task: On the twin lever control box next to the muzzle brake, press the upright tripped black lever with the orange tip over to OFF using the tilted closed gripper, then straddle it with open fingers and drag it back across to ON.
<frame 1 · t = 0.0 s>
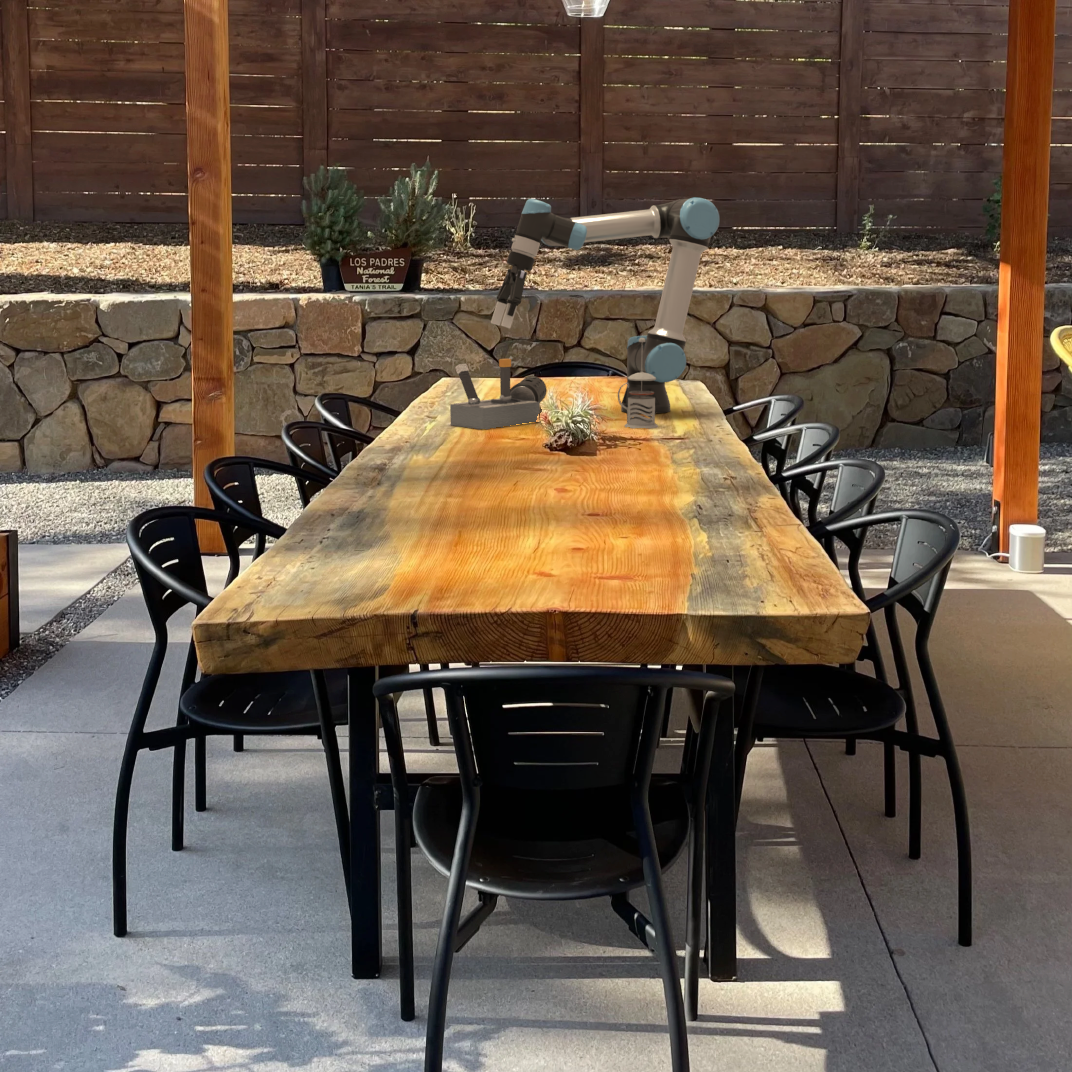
hand: (500, 325, 390), 28 cm above the table, tool tilted 20°, fingers open, 13 cm apart
twin lever control box: (495, 423, 393), on the table
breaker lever: (505, 380, 393), point 12 cm above the table, hinge at 0.0°
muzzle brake: (527, 413, 419), on the table
french press: (638, 427, 387), on the table
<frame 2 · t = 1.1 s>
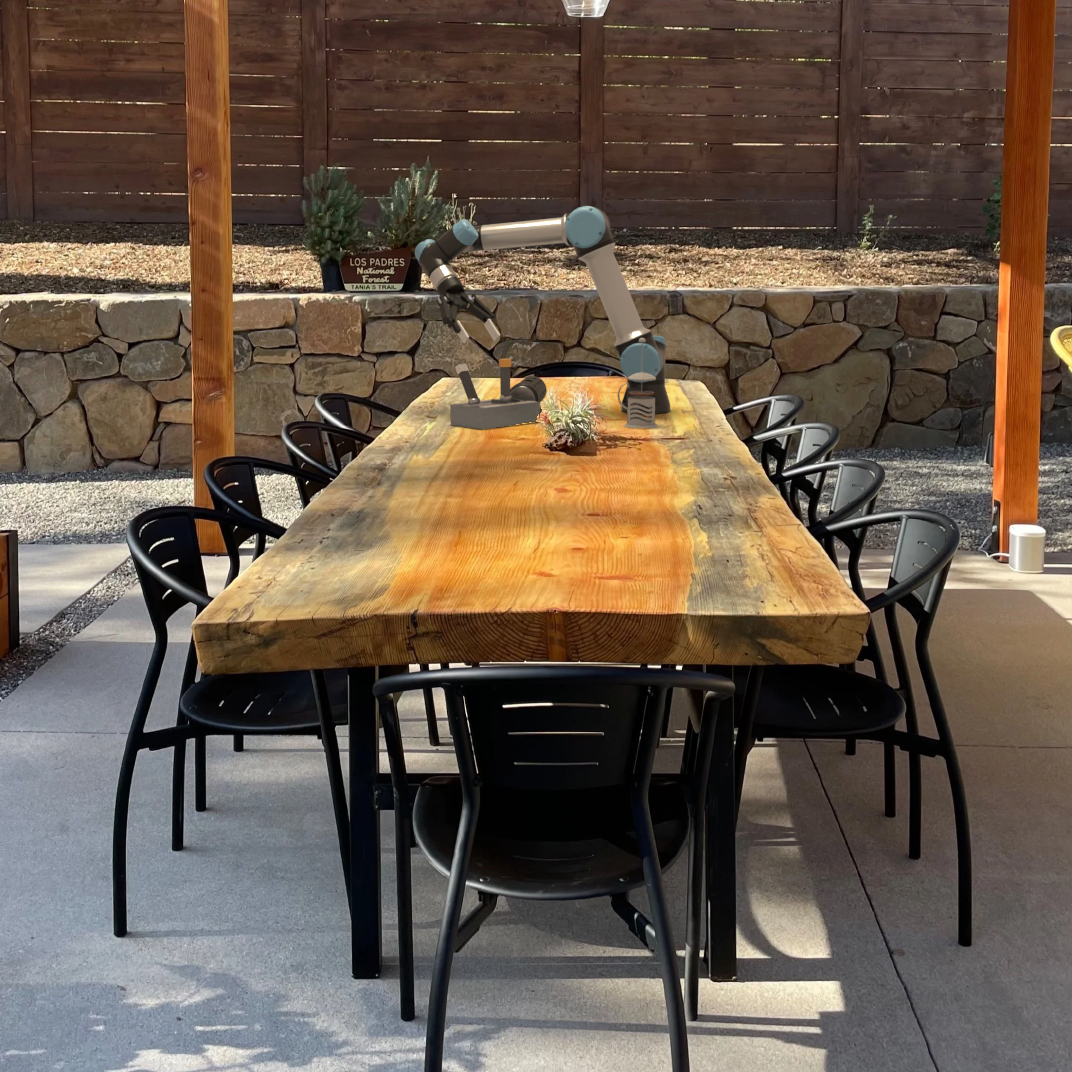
hand: (482, 339, 398), 24 cm above the table, tool tilted 45°, fingers open, 11 cm apart
nothing on the table moved.
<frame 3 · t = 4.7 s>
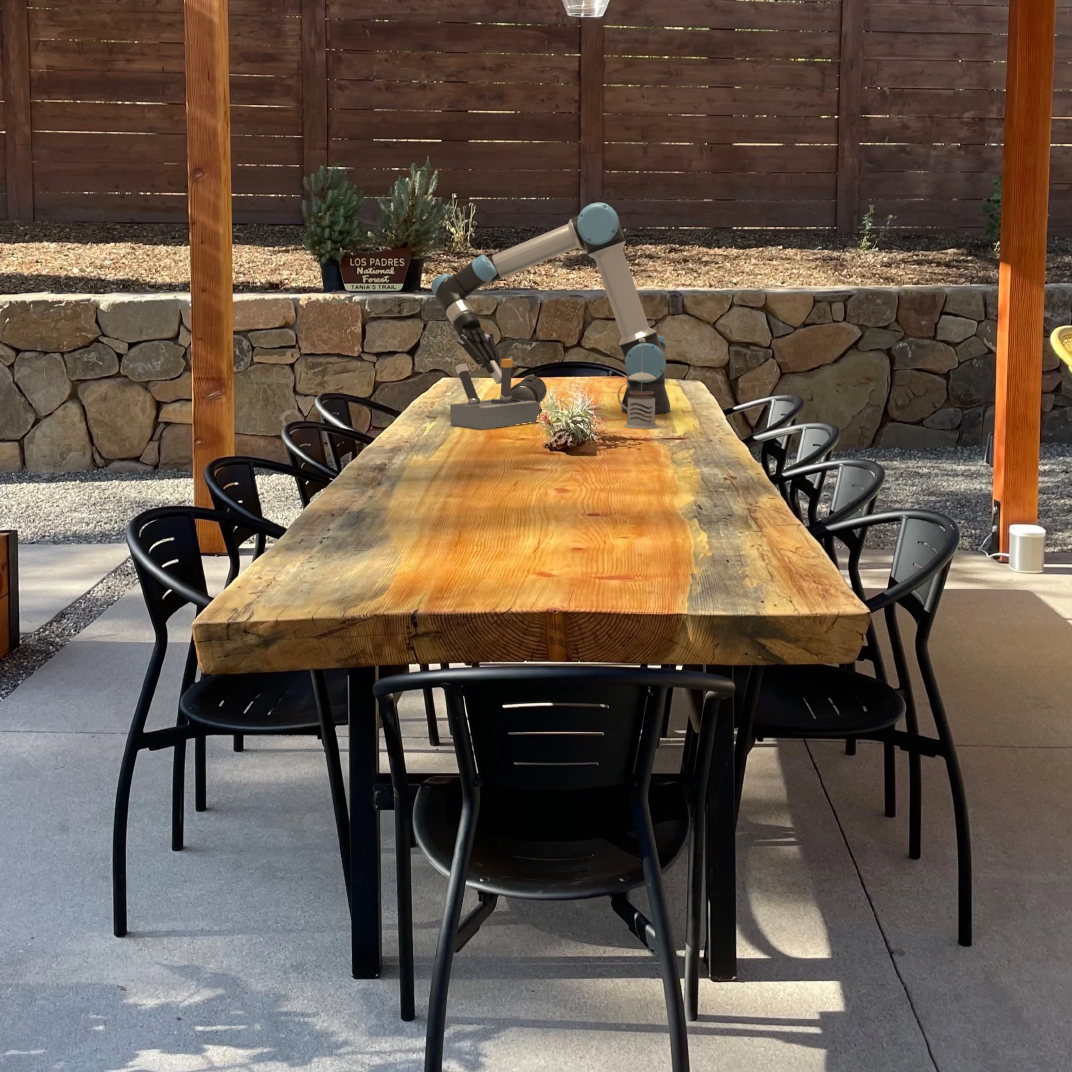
hand: (500, 380, 394), 12 cm above the table, tool tilted 45°, fingers closed
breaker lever: (506, 380, 393), point 12 cm above the table, hinge at 4.6°, touching gripper
everything else where it was.
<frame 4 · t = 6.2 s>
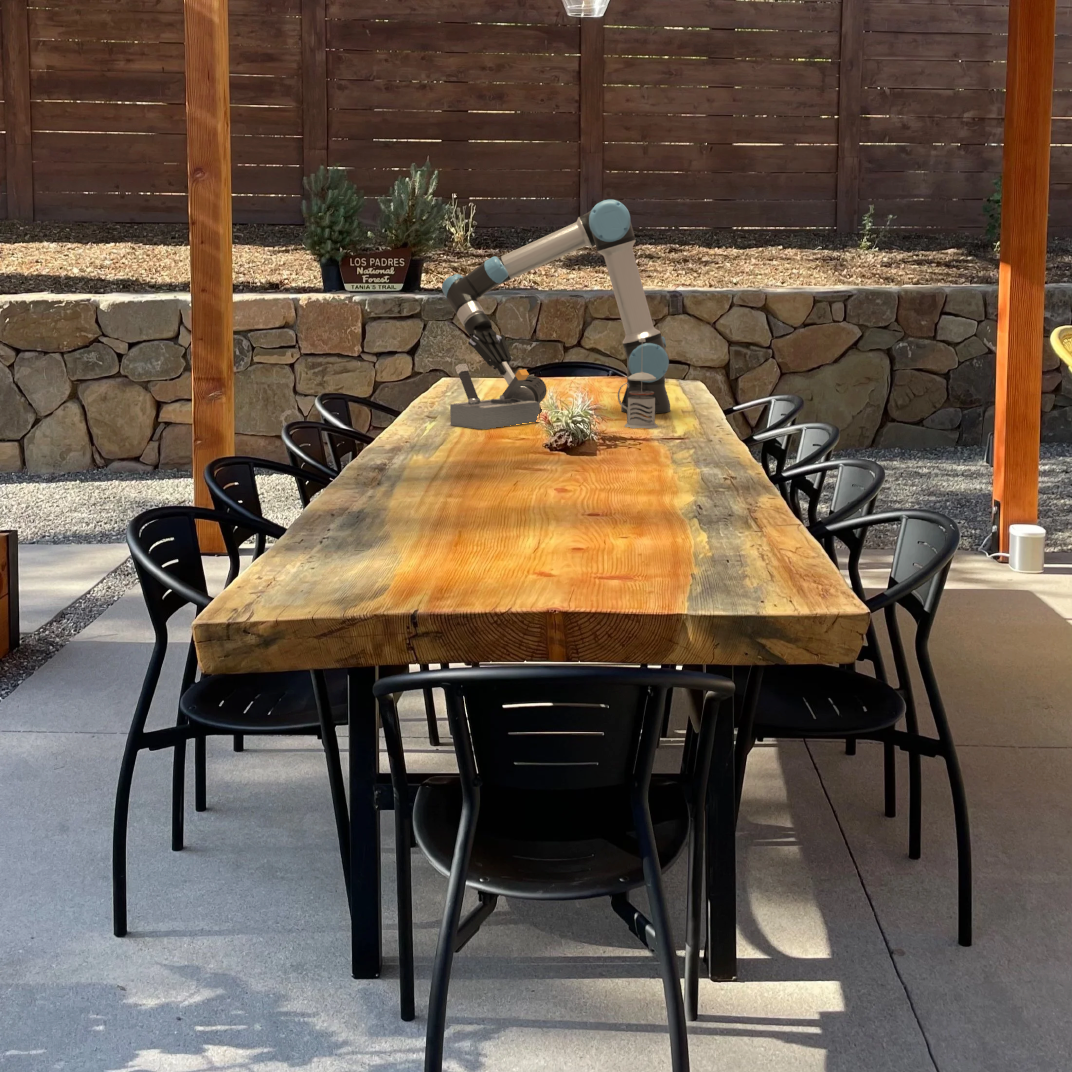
hand: (512, 382, 391), 12 cm above the table, tool tilted 45°, fingers closed
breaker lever: (513, 386, 391), point 11 cm above the table, hinge at 45.0°, touching gripper
everything else where it was.
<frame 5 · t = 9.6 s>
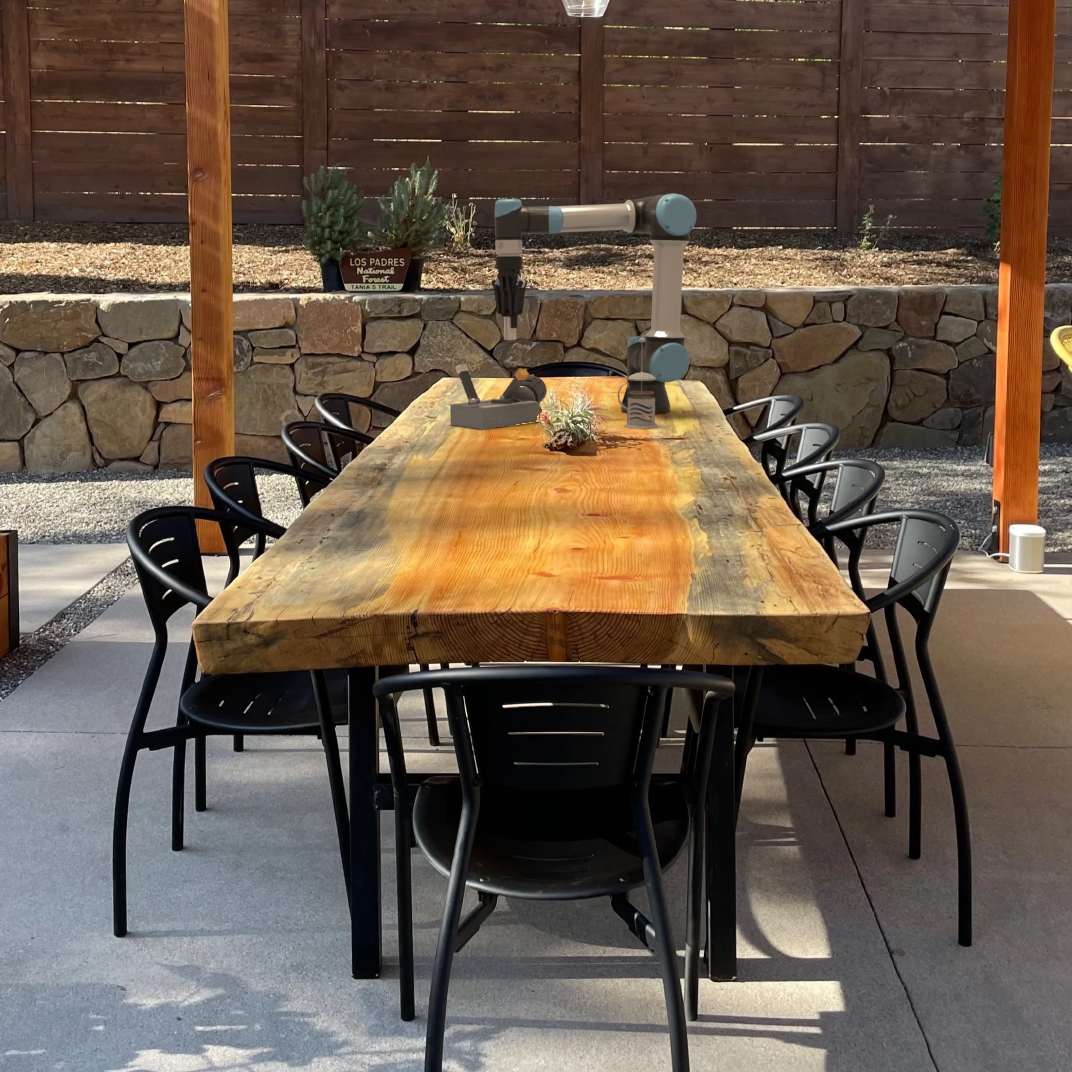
hand: (510, 339, 389), 24 cm above the table, tool pointing down, fingers closed
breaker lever: (513, 386, 391), point 11 cm above the table, hinge at 45.1°
everything else where it was.
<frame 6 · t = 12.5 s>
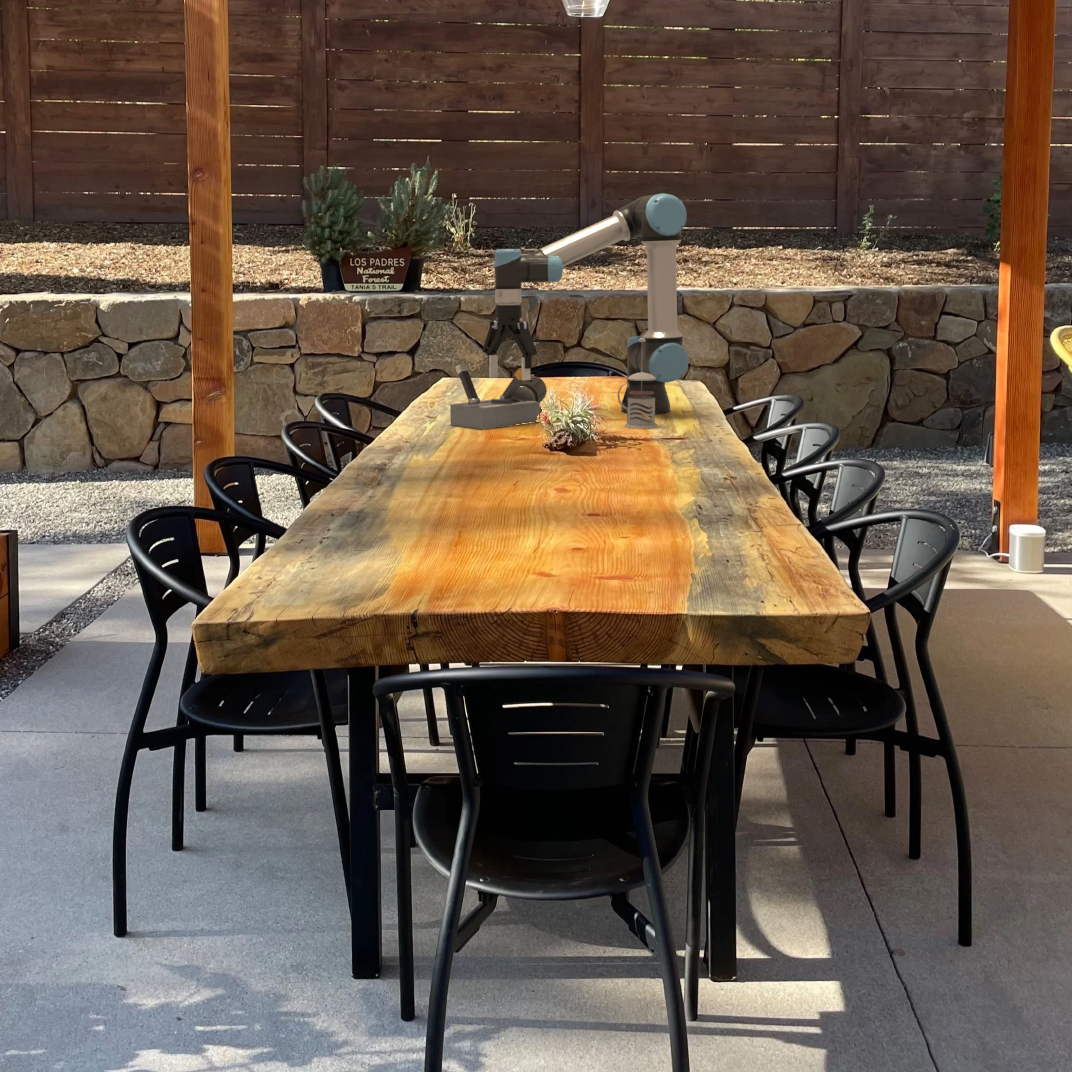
hand: (509, 379, 392), 13 cm above the table, tool pointing down, fingers open, 13 cm apart
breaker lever: (513, 385, 391), point 11 cm above the table, hinge at 44.0°, touching gripper
everything else where it was.
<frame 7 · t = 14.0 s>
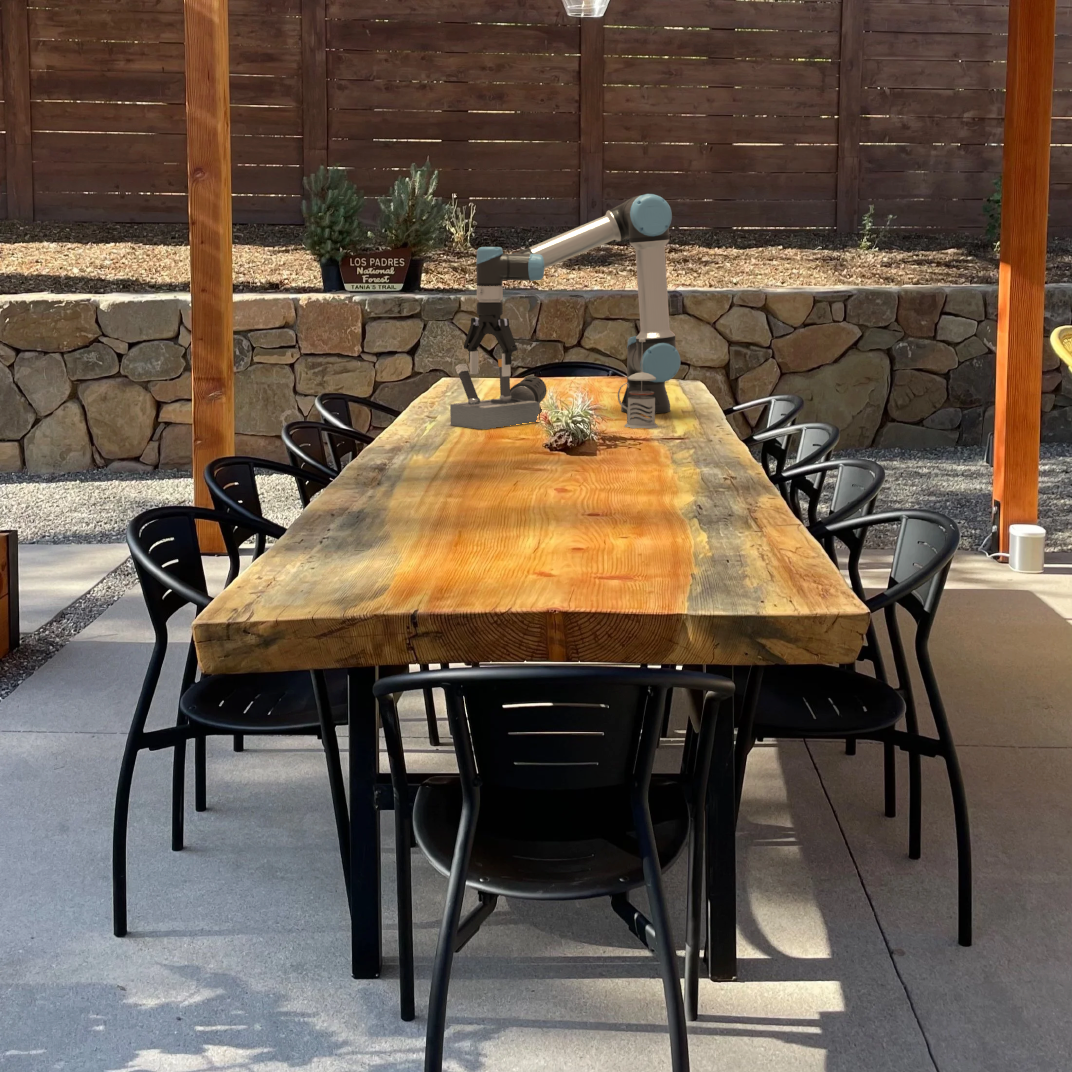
hand: (490, 375, 397), 13 cm above the table, tool pointing down, fingers open, 13 cm apart
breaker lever: (504, 380, 393), point 12 cm above the table, hinge at -2.4°, touching gripper
everything else where it was.
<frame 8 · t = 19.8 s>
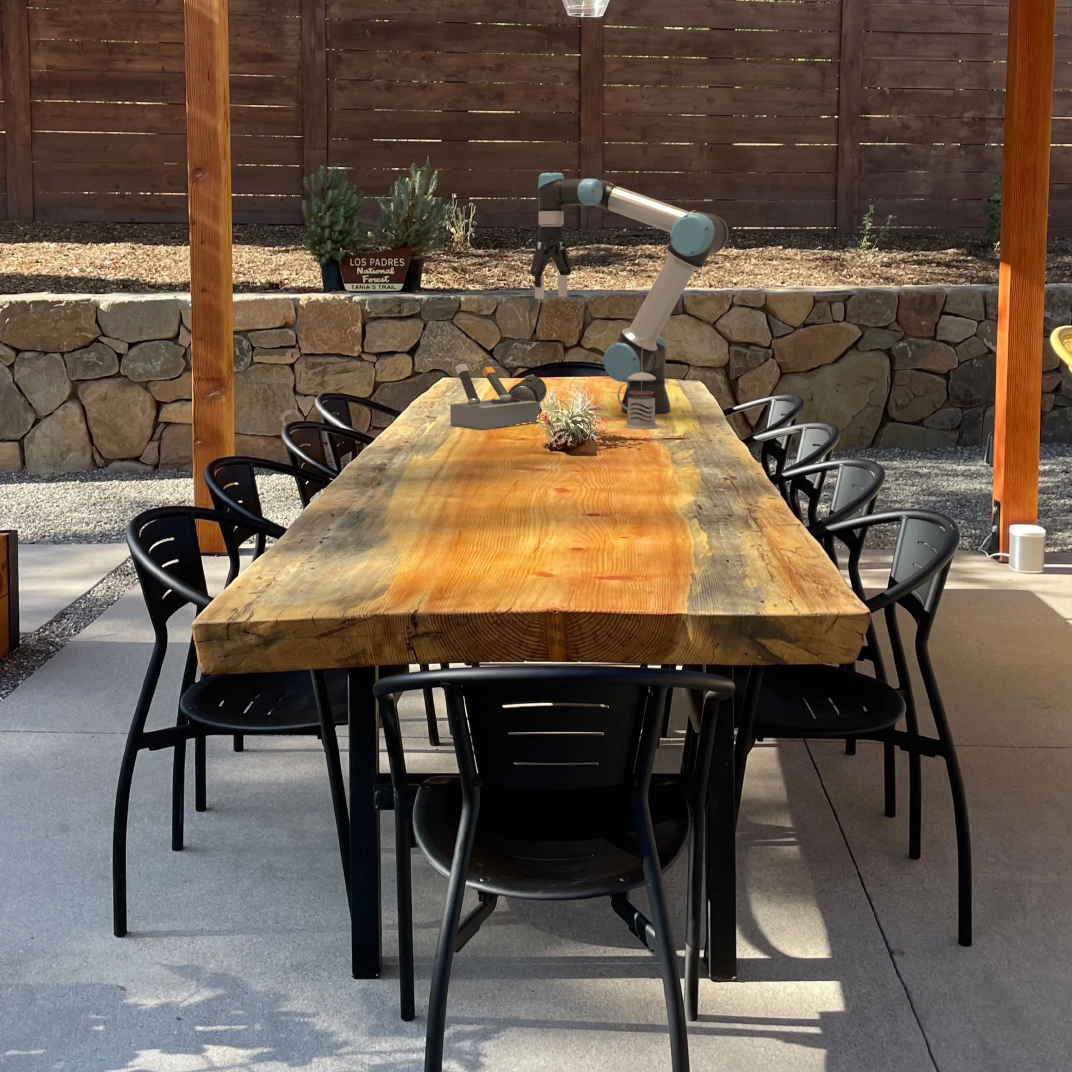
hand: (551, 297, 414), 35 cm above the table, tool pointing down, fingers open, 13 cm apart
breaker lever: (496, 384, 396), point 11 cm above the table, hinge at -46.1°
everything else where it was.
at the end: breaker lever at -46° (first picture: +0°); the gripper is holding nothing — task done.
